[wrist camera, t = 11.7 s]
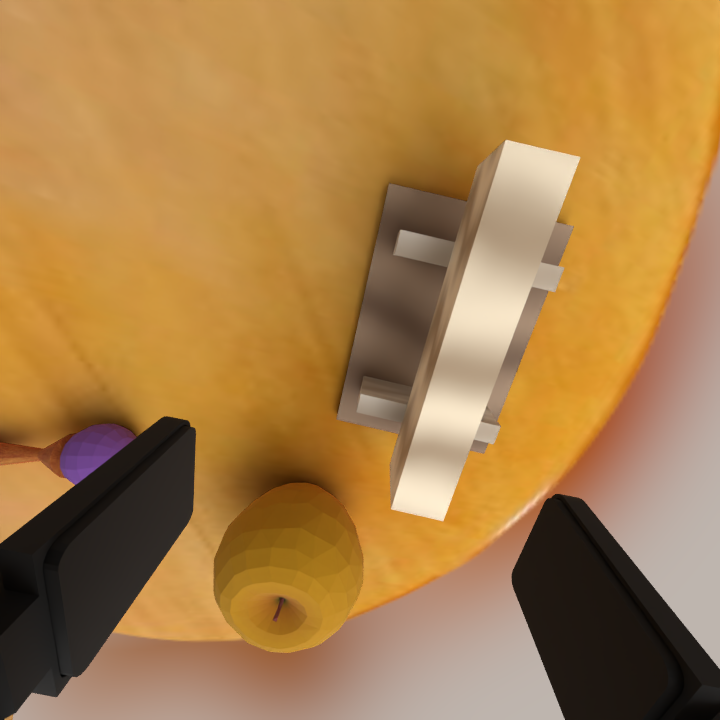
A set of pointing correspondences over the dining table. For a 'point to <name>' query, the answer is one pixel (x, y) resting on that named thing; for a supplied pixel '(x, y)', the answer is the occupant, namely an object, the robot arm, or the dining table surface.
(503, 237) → the beech bar
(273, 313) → the dining table surface
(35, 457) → the kendama
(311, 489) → the apple
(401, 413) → the rail rest
